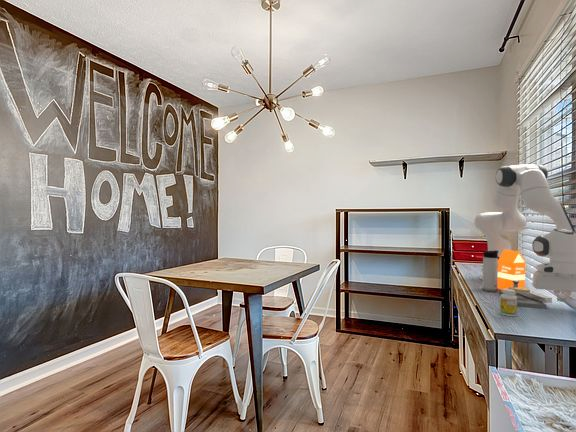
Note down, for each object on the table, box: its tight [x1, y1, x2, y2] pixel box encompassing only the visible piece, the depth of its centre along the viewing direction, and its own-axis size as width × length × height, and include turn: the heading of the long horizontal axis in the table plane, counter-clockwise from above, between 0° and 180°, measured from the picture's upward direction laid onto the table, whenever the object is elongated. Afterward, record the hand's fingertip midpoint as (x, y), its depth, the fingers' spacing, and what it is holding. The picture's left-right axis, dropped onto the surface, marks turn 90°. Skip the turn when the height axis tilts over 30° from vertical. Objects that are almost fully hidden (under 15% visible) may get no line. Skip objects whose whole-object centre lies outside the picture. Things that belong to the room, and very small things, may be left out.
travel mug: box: [482, 250, 499, 293], centre depth 168 cm, size 6×7×20 cm
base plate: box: [499, 289, 547, 310], centre depth 151 cm, size 23×12×2 cm, turn 159°
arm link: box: [511, 280, 553, 304], centre depth 150 cm, size 21×4×5 cm, turn 4°
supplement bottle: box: [499, 289, 518, 317], centre depth 130 cm, size 5×5×10 cm
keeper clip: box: [509, 287, 531, 296], centre depth 149 cm, size 4×7×4 cm, turn 69°
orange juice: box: [497, 249, 526, 290], centre depth 170 cm, size 8×9×20 cm
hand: (562, 301), depth 139 cm, fingers closed
